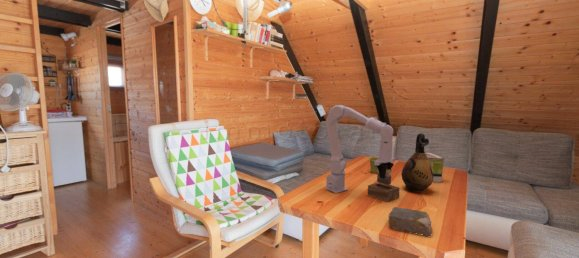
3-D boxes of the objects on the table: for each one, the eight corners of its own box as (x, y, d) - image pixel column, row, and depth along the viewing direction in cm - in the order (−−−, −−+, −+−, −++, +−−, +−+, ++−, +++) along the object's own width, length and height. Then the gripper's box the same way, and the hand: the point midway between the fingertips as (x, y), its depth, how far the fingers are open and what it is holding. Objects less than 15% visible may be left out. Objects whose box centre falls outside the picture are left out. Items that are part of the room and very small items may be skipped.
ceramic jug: (436, 196, 137) (441, 136, 133) (403, 193, 140) (408, 135, 136) (426, 185, 154) (431, 132, 150) (397, 183, 157) (401, 131, 153)
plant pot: (380, 175, 172) (381, 161, 171) (366, 172, 177) (366, 159, 176) (385, 172, 179) (386, 159, 178) (371, 169, 185) (372, 157, 184)
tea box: (442, 182, 159) (444, 157, 157) (424, 182, 159) (426, 157, 158) (429, 175, 174) (431, 152, 172) (413, 174, 174) (415, 151, 173)
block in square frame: (387, 202, 128) (387, 191, 127) (367, 195, 137) (368, 185, 136) (398, 197, 134) (399, 187, 134) (379, 191, 143) (380, 181, 142)
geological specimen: (390, 205, 112) (432, 211, 106) (390, 220, 112) (431, 226, 106) (387, 214, 102) (433, 221, 96) (387, 230, 103) (432, 238, 96)
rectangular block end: (387, 184, 132) (388, 170, 131) (377, 181, 136) (377, 167, 135) (390, 183, 133) (391, 169, 132) (380, 180, 138) (380, 167, 137)
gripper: (384, 153, 125) (382, 182, 127) (401, 150, 134) (399, 177, 136) (371, 150, 131) (369, 178, 132) (388, 147, 140) (386, 173, 141)
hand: (384, 177), depth 134 cm, fingers closed on rectangular block end, 2 cm apart
